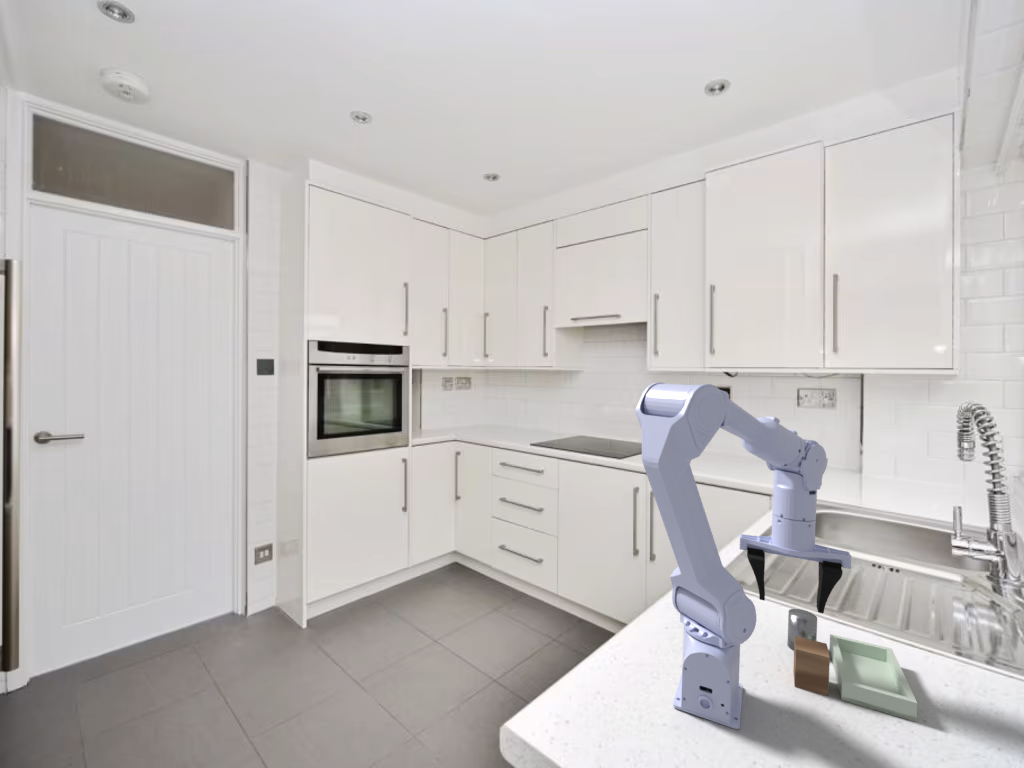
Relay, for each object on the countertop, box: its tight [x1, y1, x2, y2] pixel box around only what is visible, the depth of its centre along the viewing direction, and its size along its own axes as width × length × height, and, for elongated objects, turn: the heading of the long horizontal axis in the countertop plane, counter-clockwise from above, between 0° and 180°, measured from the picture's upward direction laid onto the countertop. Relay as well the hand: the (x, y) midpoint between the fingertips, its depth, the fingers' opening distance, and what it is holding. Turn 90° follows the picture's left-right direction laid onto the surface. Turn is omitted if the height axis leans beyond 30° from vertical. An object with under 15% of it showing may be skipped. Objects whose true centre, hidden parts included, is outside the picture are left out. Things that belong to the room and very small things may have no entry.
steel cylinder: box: [787, 608, 818, 652], centre depth 76 cm, size 4×4×6 cm
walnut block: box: [792, 636, 831, 697], centre depth 67 cm, size 4×4×6 cm
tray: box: [828, 633, 918, 723], centre depth 68 cm, size 14×8×2 cm, turn 151°
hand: (790, 603), depth 72 cm, fingers open, 7 cm apart
